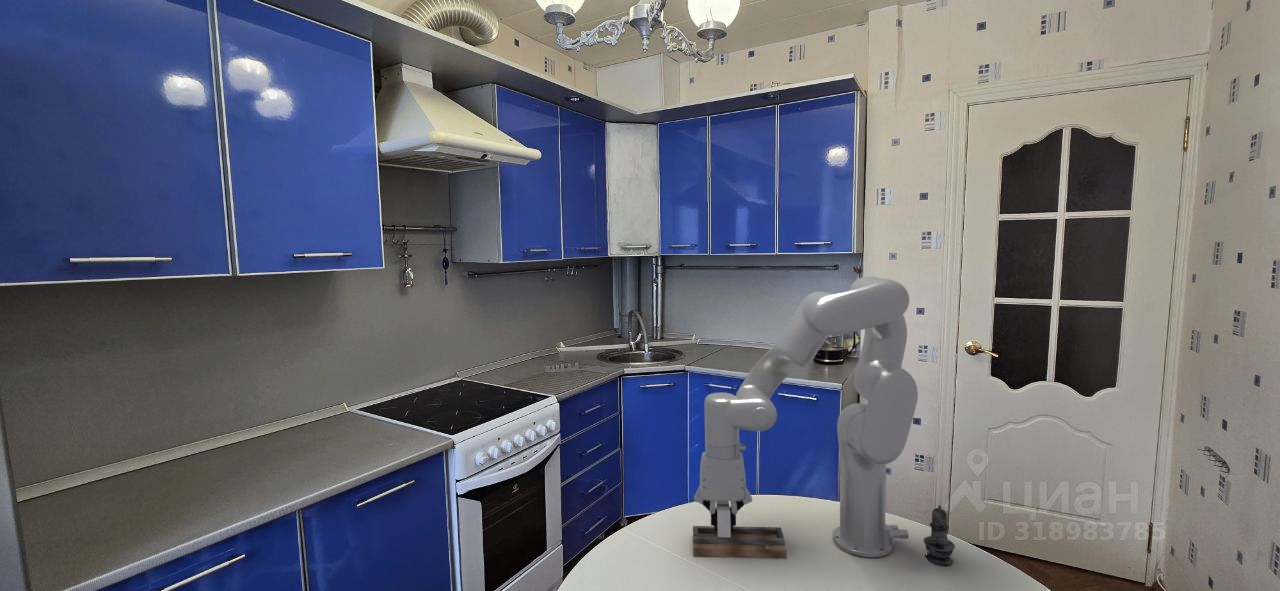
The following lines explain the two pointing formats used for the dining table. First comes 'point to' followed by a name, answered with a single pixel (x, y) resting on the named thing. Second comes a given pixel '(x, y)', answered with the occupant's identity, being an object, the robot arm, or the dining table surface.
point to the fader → (723, 519)
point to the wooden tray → (739, 542)
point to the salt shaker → (939, 540)
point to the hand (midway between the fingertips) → (723, 527)
